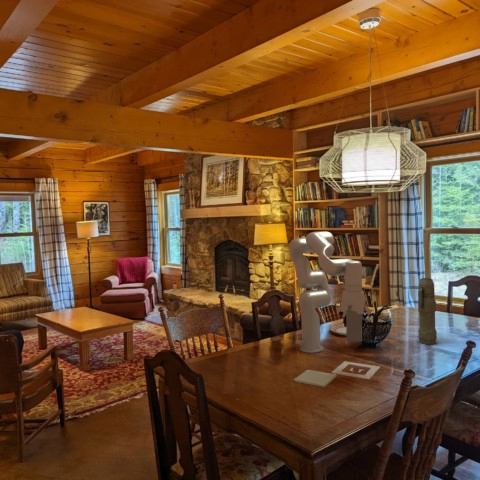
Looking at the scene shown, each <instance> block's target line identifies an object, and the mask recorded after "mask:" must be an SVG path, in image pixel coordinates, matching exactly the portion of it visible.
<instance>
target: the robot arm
mask: <svg viewBox="0 0 480 480" xmlns="http://www.w3.org/2000/svg"><path fill="white" fill-rule="evenodd" d="M334 242H335V238H334V235H333V234H332V233H331V232H329V231H327V230H326V231H325V230H324V231H322V230H321V231H312V232H310V233H308V234H307V235H306V237H296V238H294V239H292V240H291V241H290V242H289V244H288V252H289V256H290V258H291V260H292V263H293V266H294V271H295V274H296V275H295V276H296V280H297V284H298V286H299V288H301V289H308V290H304V291H302V292H301V293H300V294H299V296H298V302H299V303H298V304H299V306H300V319H301V340H300V339H296V340H295V344H296V345H300V346H299V350H300V351H301V352H304V353H309V354H311V353H312V354H313V353H315V354H316V353H320V352H323V351H324V346H323V345H321V321H320V315H319V313H318V312H317V310H316V309H317V308H323V307H327V306H328V307H329V305H330V304H331V303H332V295H331V290H330V285H329V282H328V278H327V276H330V277H338V276H344V284H342V285H341V288H343V289H344V290H342V293H341V294H342V296H341V303H340V305H339V306H338V307H336V311H337V312H338V313H339V315H341V318H342V321H343V324H344V327H346V310H347V311H349V310H348V306H353V307H352V308H351V309H350V311H356V312H357V314H362V328H364V326H365V324H366V319H367V318H368V317H369V316H370V315H371V314H372V310H371V309H370V308H369V307H368V306H367V305H366V298H365V297H366V296H365V292H364V290H363V268H362V267H363V265H362V262H361V261H360V260H354V259H351V258H337V259H331V257H332V255H334V252H335V248H334V244H335V243H334ZM310 253H311V254H312V253H315V254H316V255H317V257H318V258H317V261H318V265H319V267H320V269H312V267H311V263H310V262H311V261H310V260H309V259H308V257H307V256H306V255H304V254H310ZM314 288H316V289H314ZM309 289H310V290H309ZM365 312H366V313H365Z"/></svg>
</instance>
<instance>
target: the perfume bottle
mask: <svg viewBox="0 0 480 480" xmlns="http://www.w3.org/2000/svg"><path fill="white" fill-rule="evenodd" d="M352 307H353V306H348V310H349V311H347V310H346V333H347V336H346V342H363V336H362V314H357V312H356V311H350V309H351V308H352Z"/></svg>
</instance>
